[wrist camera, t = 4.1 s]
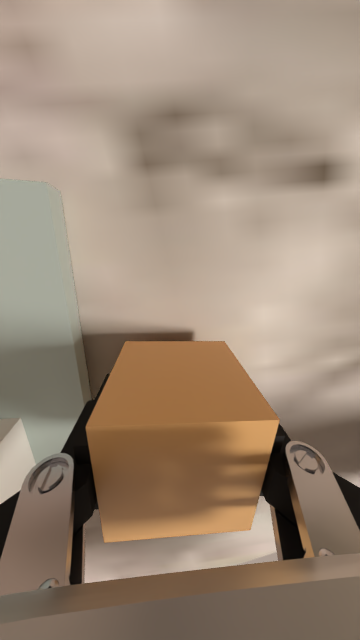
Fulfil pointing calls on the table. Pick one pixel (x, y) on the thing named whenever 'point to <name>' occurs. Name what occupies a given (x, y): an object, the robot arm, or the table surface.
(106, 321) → the table surface
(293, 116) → the table surface
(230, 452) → the tan wooden cube
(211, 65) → the table surface
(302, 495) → the robot arm
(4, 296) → the junction board
